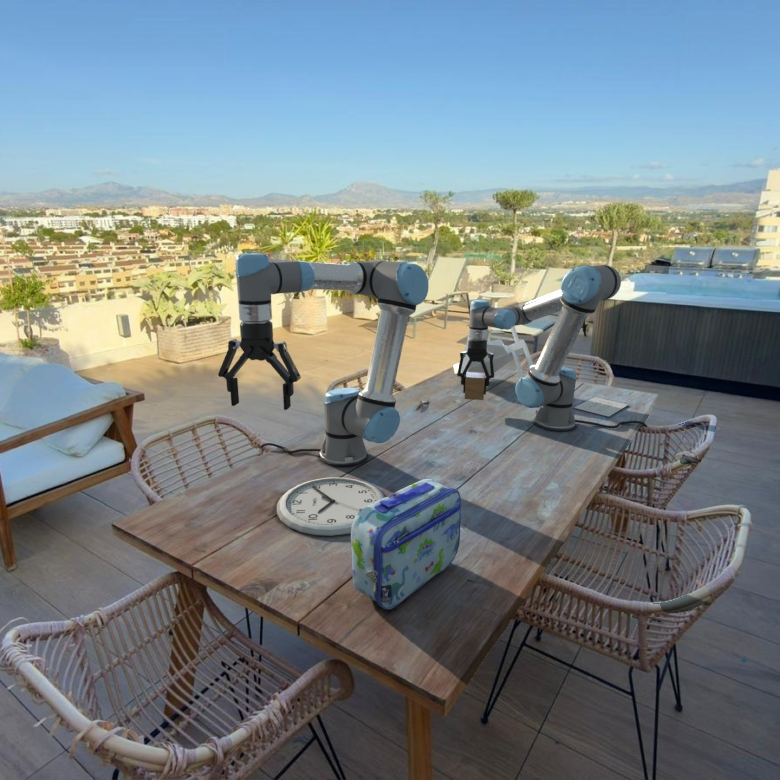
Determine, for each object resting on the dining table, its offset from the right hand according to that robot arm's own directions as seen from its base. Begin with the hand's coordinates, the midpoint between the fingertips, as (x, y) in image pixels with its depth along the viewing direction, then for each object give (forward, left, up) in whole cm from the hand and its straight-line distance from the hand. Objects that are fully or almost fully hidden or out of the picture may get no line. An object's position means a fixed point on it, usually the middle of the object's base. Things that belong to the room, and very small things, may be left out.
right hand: (474, 392), depth 218 cm
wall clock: (+41, +86, -7) cm, 96 cm away
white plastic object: (-10, -36, -7) cm, 38 cm away
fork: (+22, -2, -7) cm, 23 cm away
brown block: (0, 0, -2) cm, 2 cm away
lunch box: (+18, +115, -7) cm, 117 cm away
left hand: (+57, +92, +22) cm, 111 cm away
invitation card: (-55, -13, -7) cm, 57 cm away
